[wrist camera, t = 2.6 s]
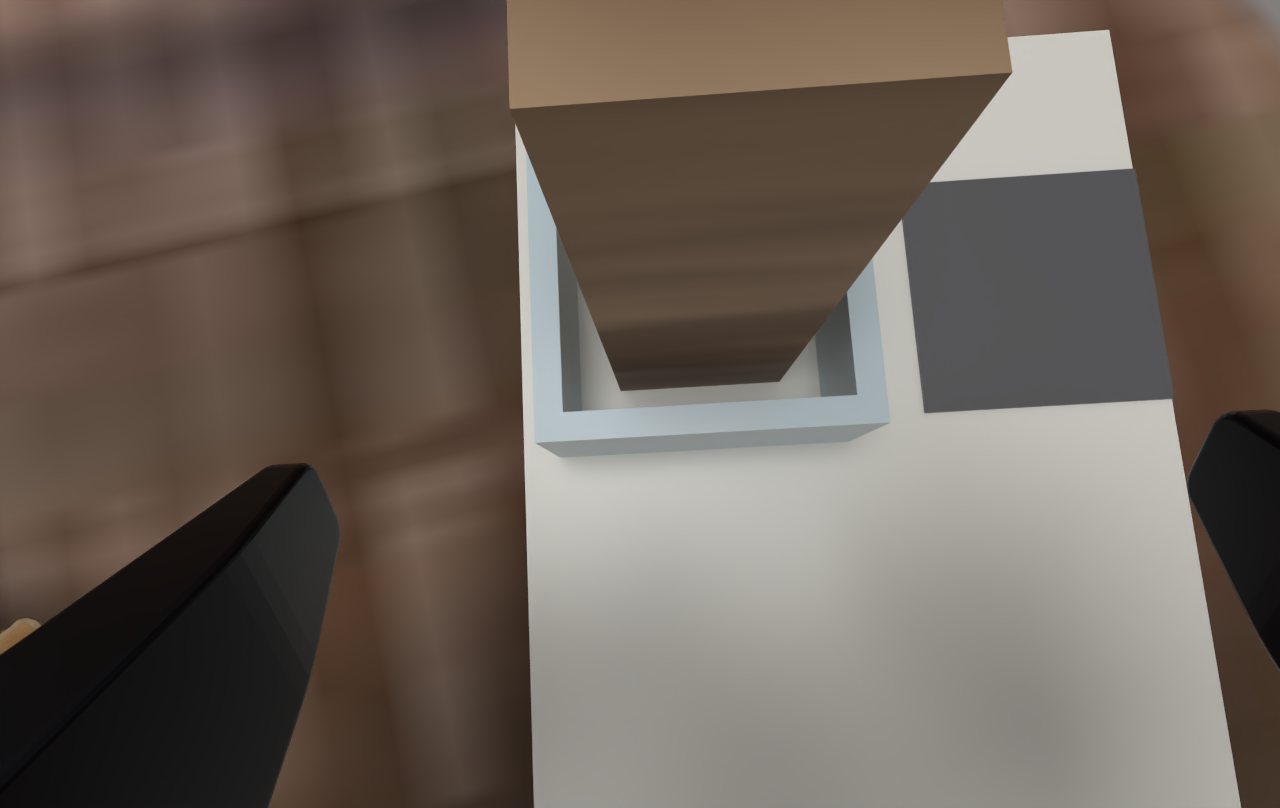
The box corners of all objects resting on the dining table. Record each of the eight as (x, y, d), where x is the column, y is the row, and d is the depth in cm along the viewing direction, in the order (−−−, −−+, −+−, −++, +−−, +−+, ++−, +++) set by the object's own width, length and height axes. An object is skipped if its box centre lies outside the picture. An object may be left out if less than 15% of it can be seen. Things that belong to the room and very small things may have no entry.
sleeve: (849, 441, 18) (890, 422, 15) (560, 457, 19) (534, 443, 15) (822, 169, 20) (854, 93, 16) (551, 188, 20) (524, 117, 16)
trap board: (1245, 1011, 17) (1284, 1043, 16) (548, 1031, 17) (539, 1064, 16) (1088, 53, 21) (1111, 27, 20) (521, 94, 21) (513, 71, 20)
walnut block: (779, 381, 19) (1012, 72, 6) (620, 391, 19) (509, 109, 6) (766, 231, 19) (951, -345, 6) (613, 241, 19) (499, -304, 7)
